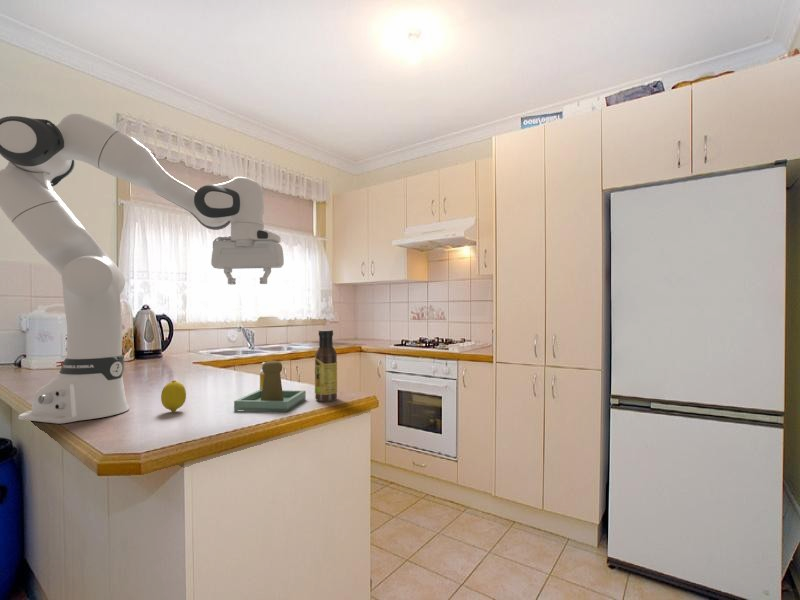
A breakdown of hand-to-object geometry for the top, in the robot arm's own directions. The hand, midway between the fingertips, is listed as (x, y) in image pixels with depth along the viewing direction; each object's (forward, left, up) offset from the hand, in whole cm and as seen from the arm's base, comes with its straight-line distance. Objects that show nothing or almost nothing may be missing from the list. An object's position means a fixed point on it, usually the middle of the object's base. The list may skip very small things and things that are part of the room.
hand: (247, 284), depth 114 cm
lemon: (-13, -13, -33) cm, 38 cm away
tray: (+9, -4, -33) cm, 35 cm away
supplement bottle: (+2, +10, -33) cm, 35 cm away
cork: (+9, -4, -32) cm, 34 cm away
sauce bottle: (+22, +3, -33) cm, 40 cm away
